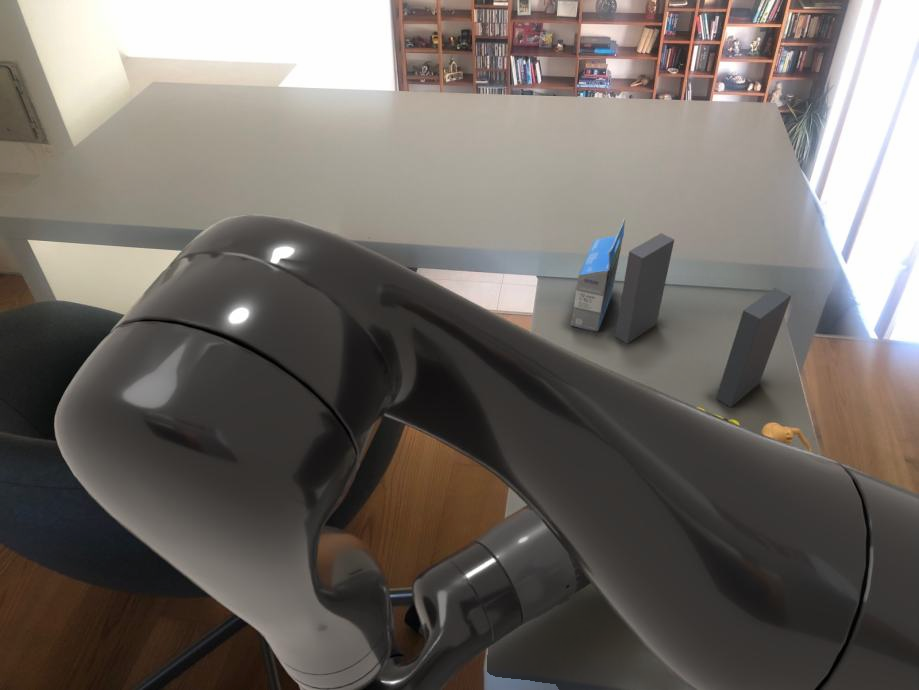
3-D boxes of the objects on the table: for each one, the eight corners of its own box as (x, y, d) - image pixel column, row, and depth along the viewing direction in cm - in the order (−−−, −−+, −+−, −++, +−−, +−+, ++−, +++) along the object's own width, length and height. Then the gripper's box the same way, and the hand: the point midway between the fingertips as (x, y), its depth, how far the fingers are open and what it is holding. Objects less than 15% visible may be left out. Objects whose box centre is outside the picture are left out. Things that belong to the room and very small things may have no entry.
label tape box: (585, 289, 97) (595, 211, 89) (614, 295, 96) (626, 217, 88) (569, 326, 91) (578, 247, 83) (600, 333, 90) (612, 253, 82)
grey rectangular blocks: (759, 383, 82) (791, 295, 74) (730, 407, 79) (760, 318, 71) (644, 317, 92) (660, 232, 84) (614, 336, 89) (629, 251, 81)
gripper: (610, 599, 47) (774, 485, 54) (489, 463, 56) (643, 381, 63) (598, 651, 52) (750, 540, 59) (489, 518, 61) (631, 436, 68)
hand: (693, 458), depth 61 cm, fingers open, 4 cm apart
